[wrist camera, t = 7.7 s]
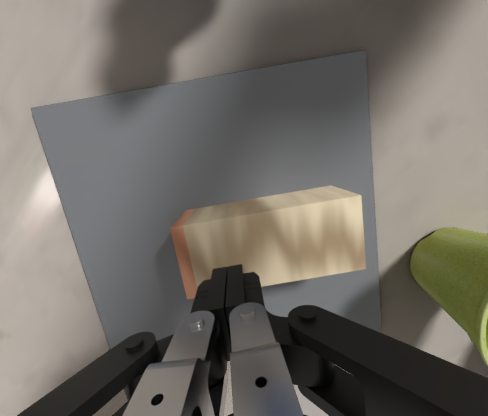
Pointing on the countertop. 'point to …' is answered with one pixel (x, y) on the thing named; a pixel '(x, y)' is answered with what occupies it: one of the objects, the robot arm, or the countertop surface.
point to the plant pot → (457, 278)
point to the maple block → (273, 237)
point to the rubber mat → (208, 179)
